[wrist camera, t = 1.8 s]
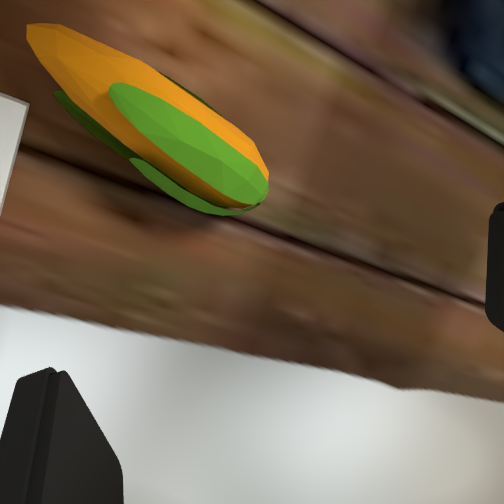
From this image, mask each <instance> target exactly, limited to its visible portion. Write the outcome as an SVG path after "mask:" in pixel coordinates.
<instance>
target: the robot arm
mask: <svg viewBox="0 0 504 504" xmlns="http://www.w3.org/2000/svg"><path fill="white" fill-rule="evenodd" d="M485 312H486V315H487V317H488V319H489V320H490V322H491V323H492V324H493V325H494V326H496V327H497V328H499V329H500V330H501V331H503V332H504V202H502V203H499V204H498V205H497V206H496V207H495V208H494V210H493V213H492V214H491V216H490V218H489V233H488V256H487V278H486V300H485ZM123 499H124V498H123V474H122V469H121V465H120V463H119V460H118V458H117V456H116V455H115V453H114V451H113V449H112V448H111V446H110V444H109V443H108V441H107V439H106V437H105V436H104V434H103V432H102V430H101V429H100V427H99V426H98V424H97V422H96V420H95V419H94V417H93V415H92V413H91V412H90V410H89V408H88V407H87V405H86V403H85V401H84V400H83V398H82V396H81V395H80V393H79V391H78V390H77V388H76V386H75V385H74V383H73V381H72V379H71V378H70V376H69V375H68V373H67V372H66V371H60V372H56V370H55V369H53V368H52V367H49V368H46V369H43V370H40V371H37V372H35V373H32V374H29V375H27V376H24V377H21V378H19V379H18V380H17V383H16V385H15V389H14V392H13V396H12V399H11V403H10V406H9V410H8V413H7V417H6V421H5V424H4V428H3V431H2V435H1V438H0V504H124V500H123Z"/></svg>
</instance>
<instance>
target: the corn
mask: <svg viewBox="0 0 504 504" xmlns="http://www.w3.org/2000/svg"><path fill="white" fill-rule="evenodd" d="M26 39H27V41H28V43H29V44H30V46H31V48H32V49H33V51H34V53H35V54H36V56H37V58H38V59H39V61H40V62H41V64H42V65H43V66H44V67H45V68H46V70H47V71H48V72H49V73H50V74H51V76H52V77H53V78H54V79H55V80H56V82H57V83H58V84H59V85H60V86H61V88H62V89H63V90H64V91H61V90H57V91H55V92H54V96H55V98H56V99H57V100H58V102H59V103H60V104H61V105H62V106H63V107H64V108H65V109H66V110H67V111H68V112H69V113H70V114H71V115H72V116H73V117H74V118H75V119H76V120H77V121H78V122H79V123H80V124H81V125H83V126H84V127H85V128H86V129H87V130H88V131H89V132H90V133H91V134H93V135H94V136H95V137H97V138H98V139H99V140H101V141H102V142H104V143H105V144H106V145H108V146H109V147H110V148H112V149H113V150H115V151H116V152H117V153H119V154H120V155H121V156H123V157H124V158H126V159H127V160H128V161H130V162H131V163H132V164H133V165H134V166H135V167H136V168H137V169H138V170H139V171H140V172H141V173H142V174H143V175H144V176H145V177H146V178H148V179H149V180H150V181H152V182H153V183H154V184H155V185H157V186H158V187H159V188H161V189H162V190H163V191H165V192H166V193H167V194H169V195H170V196H172V197H174V198H175V199H177V200H179V201H180V202H182V203H183V204H185V205H187V206H188V207H191V208H194V209H196V210H199V211H201V212H204V213H210V214H216V215H221V216H224V215H238V214H242V213H245V212H247V211H249V210H251V209H253V208H255V207H257V206H259V205H260V202H261V201H263V200H264V199H265V197H266V196H267V194H268V187H269V183H268V176H269V172H268V170H267V168H266V166H265V164H264V162H263V160H262V158H261V156H260V154H259V152H258V150H257V148H256V146H255V144H254V142H253V141H252V140H251V139H250V138H248V137H247V136H246V135H245V134H244V133H243V132H242V131H240V130H239V129H238V128H237V127H235V126H234V125H233V124H231V123H230V122H229V121H227V120H226V119H225V118H224V117H223V116H221V115H220V114H219V113H218V112H216V111H215V110H214V109H213V108H212V107H210V106H209V105H208V104H207V103H205V102H204V101H203V100H202V99H201V98H199V97H198V96H196V95H195V94H193V93H192V92H190V91H189V90H187V89H186V88H184V87H183V86H181V85H180V84H178V83H177V82H175V81H174V80H172V79H171V78H169V77H167V76H165V75H163V74H162V73H160V72H158V71H156V70H154V69H153V68H151V67H150V66H148V65H147V64H146V63H144V62H142V61H140V60H138V59H136V58H133V57H131V56H129V55H127V54H125V53H122V52H120V51H118V50H116V49H114V48H111V47H109V46H107V45H105V44H102V43H100V42H98V41H96V40H94V39H91V38H89V37H87V36H85V35H83V34H80V33H78V32H76V31H74V30H72V29H69V28H67V27H65V26H63V25H61V24H48V23H34V24H27V35H26ZM257 203H258V204H257ZM254 204H257V205H255V206H253V207H250V208H247V209H244V210H241V211H230V210H226V209H223V208H219V207H224V208H226V207H233V208H241V209H243V208H246V207H249V206H251V205H254ZM215 206H219V207H215Z"/></svg>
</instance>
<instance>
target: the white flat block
mask: <svg viewBox="0 0 504 504" xmlns="http://www.w3.org/2000/svg"><path fill="white" fill-rule="evenodd" d="M29 106H30V103H27V102H25V101H22V100H19V99H17V98H14V97H11V96H9V95H6V94H3V93H1V92H0V215H1V211H2V208H3V204H4V200H5V196H6V193H7V189H8V185H9V181H10V178H11V174H12V170H13V166H14V162H15V159H16V155H17V151H18V147H19V144H20V140H21V136H22V132H23V128H24V125H25V121H26V117H27V113H28V110H29Z"/></svg>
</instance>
